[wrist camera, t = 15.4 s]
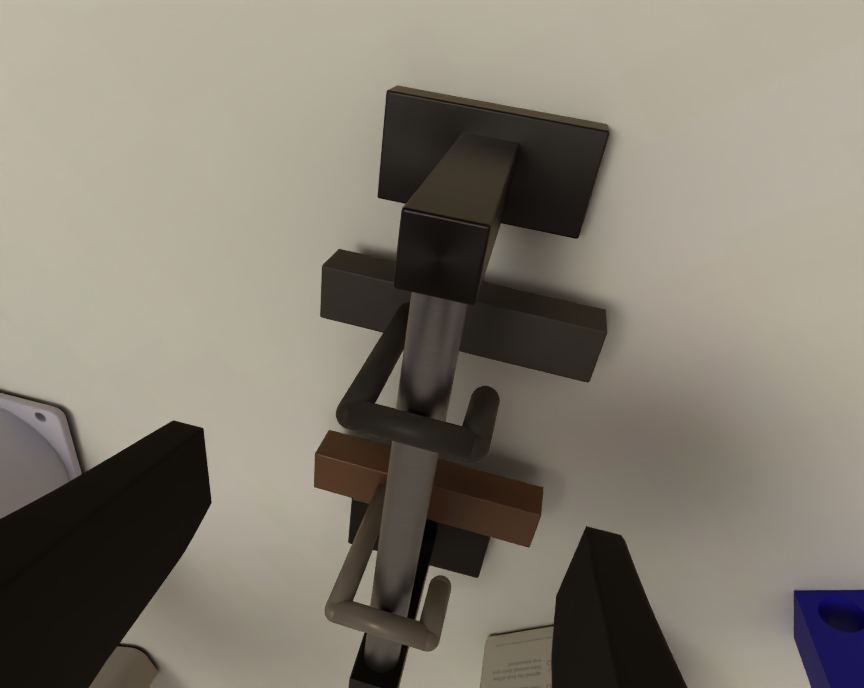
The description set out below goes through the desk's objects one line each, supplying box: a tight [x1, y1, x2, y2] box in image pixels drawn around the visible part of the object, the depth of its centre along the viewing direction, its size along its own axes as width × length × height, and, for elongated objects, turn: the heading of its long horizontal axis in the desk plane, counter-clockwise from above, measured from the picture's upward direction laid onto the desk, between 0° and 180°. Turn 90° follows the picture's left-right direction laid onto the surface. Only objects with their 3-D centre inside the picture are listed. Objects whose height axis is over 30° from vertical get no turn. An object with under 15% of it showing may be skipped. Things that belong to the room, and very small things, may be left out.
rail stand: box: [348, 86, 609, 688], centre depth 18 cm, size 6×19×8 cm, turn 172°
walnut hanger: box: [314, 430, 543, 652], centre depth 19 cm, size 8×2×7 cm, turn 82°
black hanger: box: [320, 249, 607, 462], centre depth 15 cm, size 8×2×7 cm, turn 82°
